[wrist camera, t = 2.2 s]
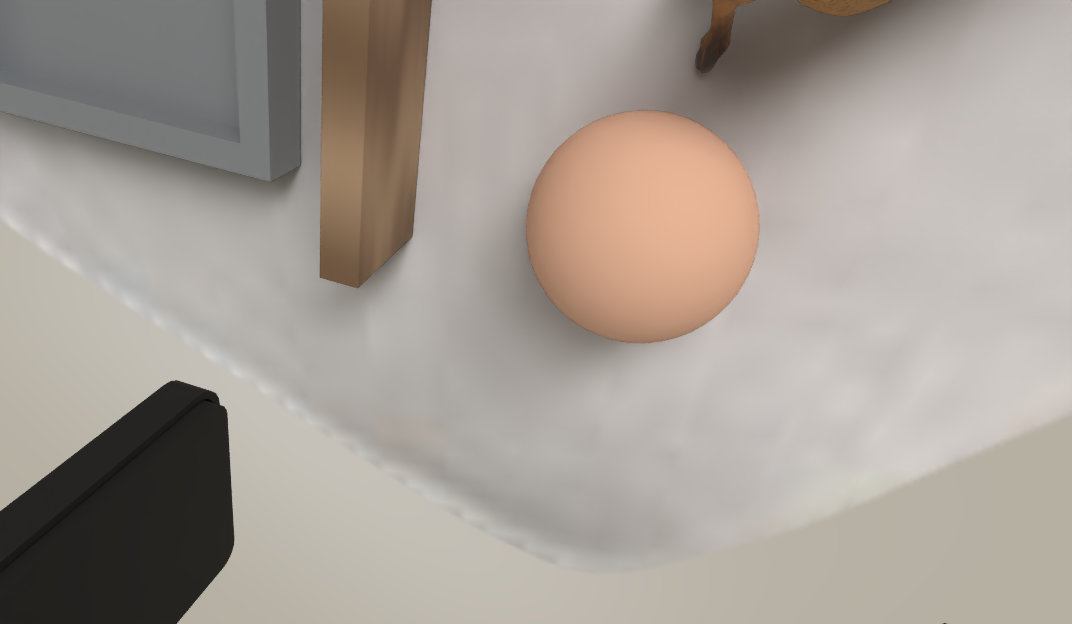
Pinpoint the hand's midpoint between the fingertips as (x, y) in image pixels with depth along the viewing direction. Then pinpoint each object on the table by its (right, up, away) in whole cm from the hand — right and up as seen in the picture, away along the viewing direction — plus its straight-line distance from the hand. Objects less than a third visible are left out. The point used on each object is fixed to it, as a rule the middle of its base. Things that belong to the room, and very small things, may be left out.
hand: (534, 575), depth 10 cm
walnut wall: (-4, +12, +12) cm, 17 cm away
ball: (+3, +7, +12) cm, 14 cm away
